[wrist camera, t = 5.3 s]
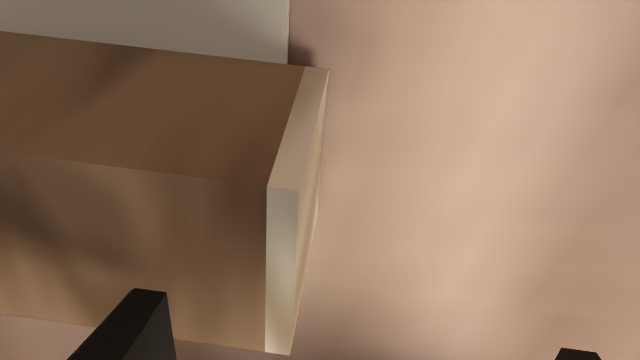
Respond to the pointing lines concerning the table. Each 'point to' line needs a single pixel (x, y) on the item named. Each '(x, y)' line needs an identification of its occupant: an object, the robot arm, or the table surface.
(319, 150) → the walnut block
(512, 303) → the table surface
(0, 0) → the mat
